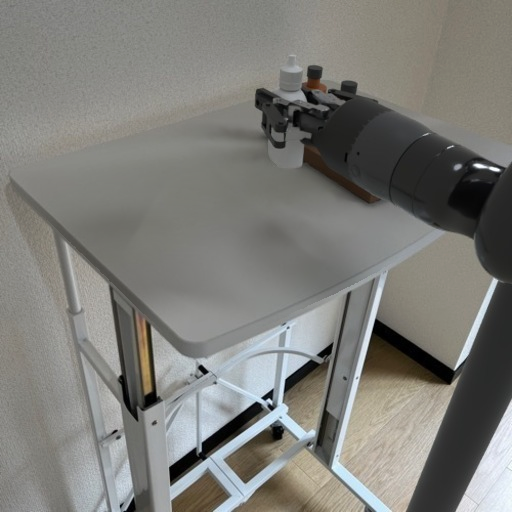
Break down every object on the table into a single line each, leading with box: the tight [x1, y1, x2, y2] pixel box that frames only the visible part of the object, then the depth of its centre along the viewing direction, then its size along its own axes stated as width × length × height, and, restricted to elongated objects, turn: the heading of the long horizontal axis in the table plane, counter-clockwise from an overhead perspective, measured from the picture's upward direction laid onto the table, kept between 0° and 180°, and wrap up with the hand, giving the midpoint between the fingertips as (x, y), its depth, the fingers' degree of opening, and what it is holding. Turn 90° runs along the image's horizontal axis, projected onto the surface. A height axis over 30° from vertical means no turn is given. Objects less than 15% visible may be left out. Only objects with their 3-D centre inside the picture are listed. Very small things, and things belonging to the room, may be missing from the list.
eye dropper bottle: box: [267, 54, 307, 170], centre depth 61 cm, size 4×6×12 cm
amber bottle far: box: [302, 64, 328, 94], centre depth 90 cm, size 4×4×12 cm
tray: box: [266, 136, 381, 204], centre depth 88 cm, size 10×25×2 cm, turn 34°
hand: (273, 93), depth 62 cm, fingers closed on eye dropper bottle, 3 cm apart
